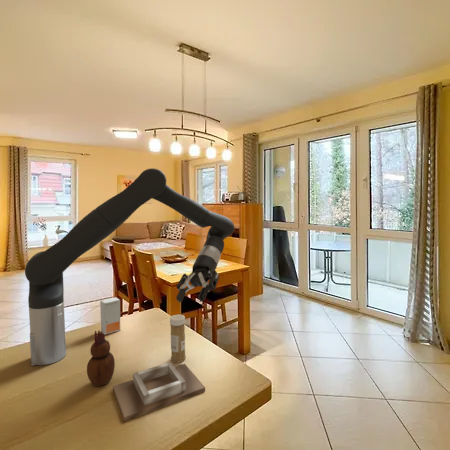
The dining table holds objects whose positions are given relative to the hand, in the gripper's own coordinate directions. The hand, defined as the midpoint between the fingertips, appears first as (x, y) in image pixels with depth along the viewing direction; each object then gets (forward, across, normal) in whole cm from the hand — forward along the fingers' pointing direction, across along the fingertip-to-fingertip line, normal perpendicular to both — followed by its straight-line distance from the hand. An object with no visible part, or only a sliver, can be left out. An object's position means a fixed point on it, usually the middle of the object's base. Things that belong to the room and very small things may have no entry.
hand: (189, 300), depth 90 cm
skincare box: (+7, -40, +8) cm, 41 cm away
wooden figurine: (+27, -16, -2) cm, 32 cm away
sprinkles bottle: (+13, -6, +12) cm, 19 cm away
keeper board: (+25, 0, +4) cm, 25 cm away
